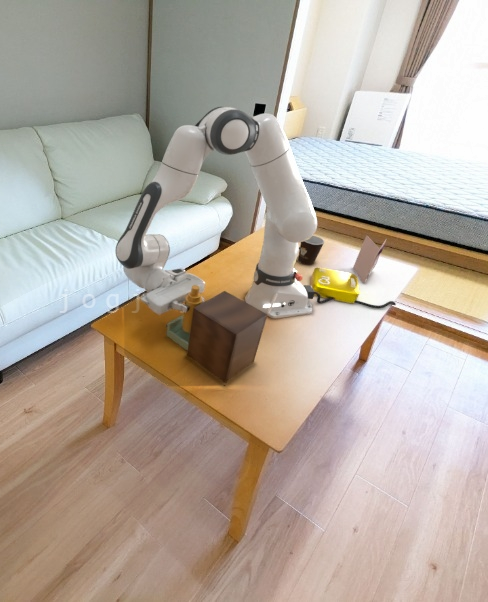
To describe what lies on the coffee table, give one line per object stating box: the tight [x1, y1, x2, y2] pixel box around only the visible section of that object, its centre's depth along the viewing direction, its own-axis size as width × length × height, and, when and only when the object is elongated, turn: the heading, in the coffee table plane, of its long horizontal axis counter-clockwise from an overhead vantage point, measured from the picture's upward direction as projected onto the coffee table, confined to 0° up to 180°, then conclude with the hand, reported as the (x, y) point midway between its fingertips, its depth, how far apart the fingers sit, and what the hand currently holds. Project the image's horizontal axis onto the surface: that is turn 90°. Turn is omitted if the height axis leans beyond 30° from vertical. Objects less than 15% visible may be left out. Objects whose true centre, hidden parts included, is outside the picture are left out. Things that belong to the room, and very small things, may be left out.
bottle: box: [182, 285, 203, 333], centre depth 109 cm, size 5×5×15 cm
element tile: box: [310, 266, 360, 304], centre depth 138 cm, size 15×15×5 cm
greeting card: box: [352, 235, 387, 284], centre depth 143 cm, size 11×7×15 cm, turn 139°
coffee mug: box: [297, 234, 325, 266], centre depth 155 cm, size 12×9×10 cm
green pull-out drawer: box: [165, 314, 190, 352], centre depth 113 cm, size 16×10×6 cm, turn 39°
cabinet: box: [186, 290, 268, 387], centre depth 103 cm, size 14×13×18 cm
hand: (195, 305), depth 108 cm, fingers closed on bottle, 5 cm apart
